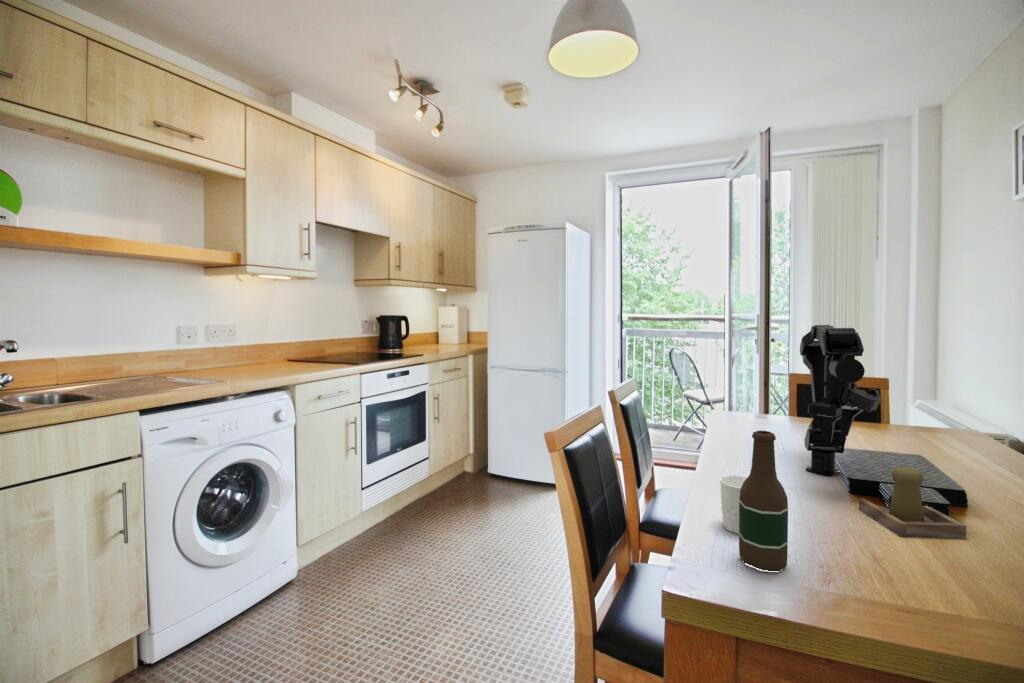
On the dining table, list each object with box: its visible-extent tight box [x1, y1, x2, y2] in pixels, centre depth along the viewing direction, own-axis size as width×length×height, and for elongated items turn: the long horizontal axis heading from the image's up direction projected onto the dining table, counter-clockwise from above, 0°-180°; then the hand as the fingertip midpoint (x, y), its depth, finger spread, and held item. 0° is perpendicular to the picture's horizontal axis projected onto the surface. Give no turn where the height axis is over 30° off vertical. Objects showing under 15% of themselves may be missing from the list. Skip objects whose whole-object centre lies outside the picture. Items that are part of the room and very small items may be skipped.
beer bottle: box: [738, 430, 789, 572], centre depth 85 cm, size 8×8×24 cm
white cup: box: [719, 475, 748, 535], centre depth 99 cm, size 8×8×10 cm
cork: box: [889, 466, 925, 522], centre depth 101 cm, size 6×6×11 cm
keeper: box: [858, 498, 967, 540], centre depth 100 cm, size 13×12×3 cm
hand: (837, 438), depth 119 cm, fingers open, 9 cm apart
